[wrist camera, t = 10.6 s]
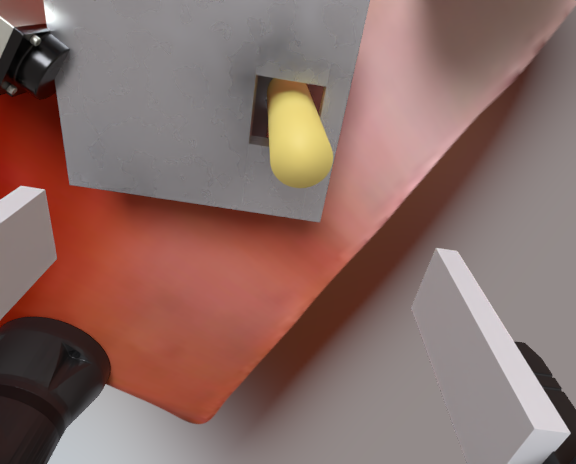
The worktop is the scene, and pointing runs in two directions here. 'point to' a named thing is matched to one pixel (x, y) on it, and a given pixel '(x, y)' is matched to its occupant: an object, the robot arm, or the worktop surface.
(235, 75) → the gray slab
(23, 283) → the robot arm
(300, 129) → the pin
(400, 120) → the worktop surface
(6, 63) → the pneumatic valve
